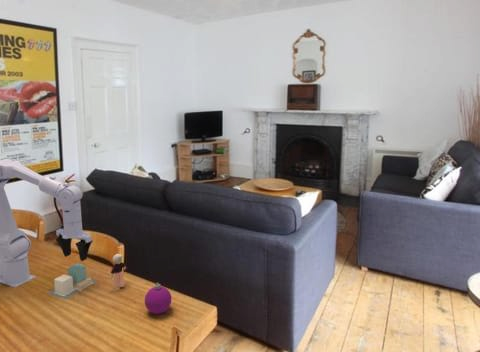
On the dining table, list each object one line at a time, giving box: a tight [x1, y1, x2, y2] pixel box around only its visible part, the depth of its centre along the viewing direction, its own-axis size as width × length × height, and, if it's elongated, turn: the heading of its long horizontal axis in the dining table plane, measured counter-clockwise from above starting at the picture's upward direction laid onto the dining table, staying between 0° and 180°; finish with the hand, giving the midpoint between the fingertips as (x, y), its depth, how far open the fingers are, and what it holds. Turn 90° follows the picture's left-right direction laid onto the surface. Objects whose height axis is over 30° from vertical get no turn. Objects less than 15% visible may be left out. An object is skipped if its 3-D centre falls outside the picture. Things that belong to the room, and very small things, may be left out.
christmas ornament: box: [144, 282, 172, 315], centre depth 114 cm, size 8×8×10 cm
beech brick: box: [73, 277, 92, 291], centre depth 129 cm, size 8×5×2 cm, turn 66°
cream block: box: [53, 273, 74, 296], centre depth 124 cm, size 4×4×5 cm
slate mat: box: [47, 276, 99, 300], centre depth 128 cm, size 9×14×1 cm, turn 156°
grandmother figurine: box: [108, 253, 127, 292], centre depth 127 cm, size 8×4×13 cm, turn 168°
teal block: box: [67, 263, 87, 283], centre depth 129 cm, size 4×4×5 cm
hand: (75, 257), depth 127 cm, fingers open, 7 cm apart
